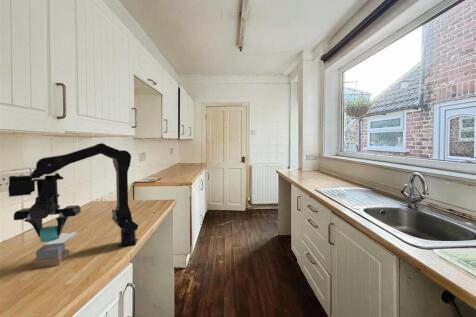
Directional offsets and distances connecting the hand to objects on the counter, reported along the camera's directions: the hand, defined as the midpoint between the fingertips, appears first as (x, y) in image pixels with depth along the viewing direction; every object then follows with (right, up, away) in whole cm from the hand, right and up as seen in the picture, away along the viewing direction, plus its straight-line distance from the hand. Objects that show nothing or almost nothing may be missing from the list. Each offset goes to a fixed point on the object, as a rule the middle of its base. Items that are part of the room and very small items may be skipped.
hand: (49, 236), depth 91 cm
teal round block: (0, -1, 0) cm, 1 cm away
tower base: (0, -10, +1) cm, 10 cm away
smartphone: (-12, -9, +23) cm, 27 cm away
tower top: (0, -7, 0) cm, 7 cm away
